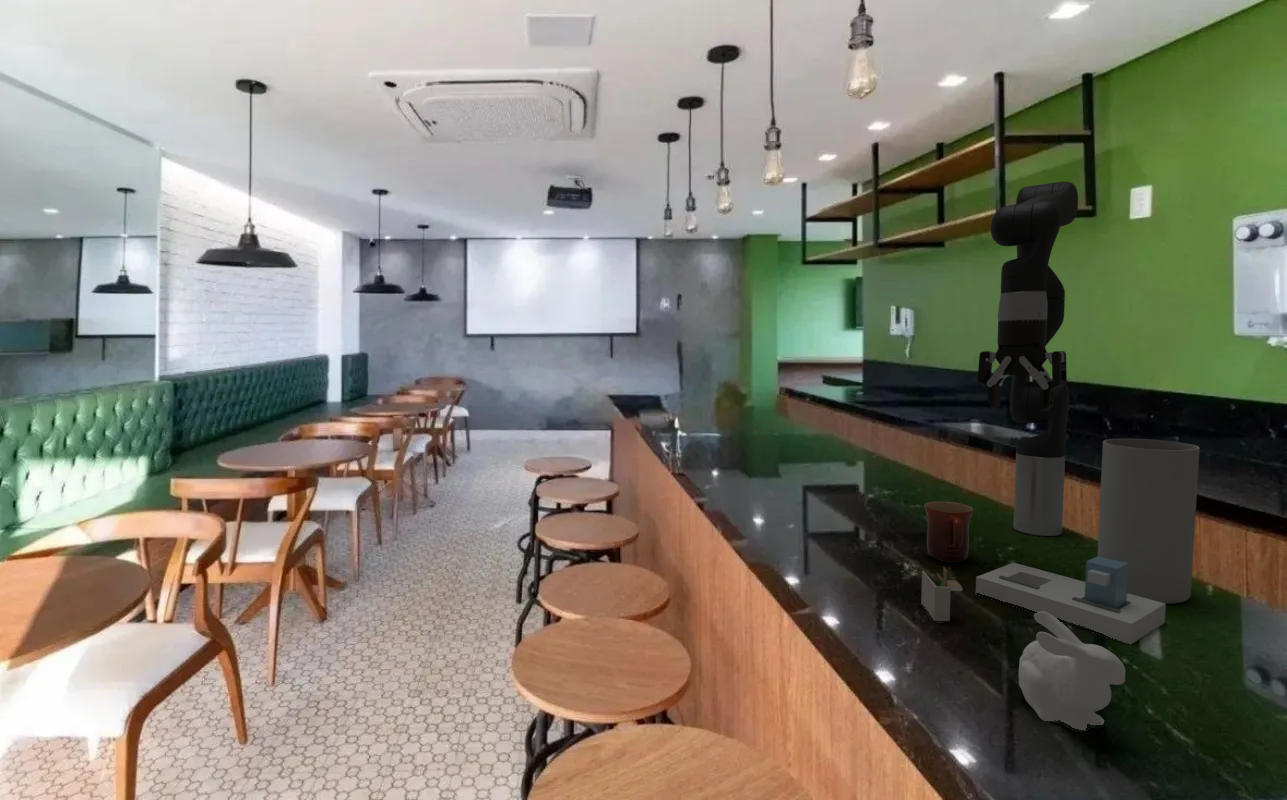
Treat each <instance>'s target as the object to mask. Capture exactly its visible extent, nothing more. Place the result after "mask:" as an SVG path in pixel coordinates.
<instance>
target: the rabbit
mask: <svg viewBox="0 0 1287 800" xmlns="http://www.w3.org/2000/svg"><path fill="white" fill-rule="evenodd" d="M1033 617H1034V621H1035V622H1037V623H1038V624H1040V625H1041V626H1043V627H1045V628H1046V629H1047V630H1049V631H1050V632H1051V633H1052V634H1053V635H1052V634H1051V633H1048V632H1045V631H1039V632H1037V633H1036V635H1035V640H1033V641H1031V642H1030V643H1028V645H1026V647H1025V648H1024V649H1023V651H1022V655H1021V656H1020V658H1019V661H1018V662H1019V667H1018V686H1019V688H1020V689H1021V691H1022V694H1023V696H1024V697H1023V698H1024V699H1025V701H1026V703H1028V705H1029V706H1030V707H1031V708H1032V709H1033V710H1034V711H1035V713H1036V714H1037V716H1038V717H1039V719H1041V720H1042V721H1044V722H1046V721H1055V720H1056V721H1058V720H1060V721H1061V722H1064V723H1066V724H1068V725H1070V726H1071V727H1072V728H1075V729H1079V730H1084V731H1085V730H1086V728H1087V724H1090V725H1094V726H1095V725H1103V724H1104V722H1105V720H1104V718H1103V717H1102V716H1101V715H1099V714H1097V713H1096V712H1098V711H1101V710H1103V709H1104V708H1106V707H1107V706H1108V705H1109V704H1110V703H1111V700H1112V689H1111V687H1110V685H1114V686H1115V685H1116V686H1119V685H1122V684H1123V683H1125V682H1126V667H1125V665H1124V664H1123V662H1122V661H1121V660H1120V659H1119V658H1118V657H1117V655H1116V654H1114V653H1113V652H1111V651H1110V650H1108V649H1106V648H1105V647H1103V646H1101V645H1098V644H1094V643H1093V644H1092V643H1084V642H1082V641H1081V640H1080V639H1079V638H1078V637H1077V636H1076V635H1075V633H1074V632H1073V631H1072V630H1071V629H1069V627H1067V626H1066V625H1065V623H1063V622H1060V621H1059V620H1058V619H1057V618H1056V617H1054V616H1053V615H1051V614H1049V613H1048V612H1045V611H1041V612H1037V613H1033Z"/></svg>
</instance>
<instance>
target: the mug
mask: <svg viewBox="0 0 1287 800" xmlns="http://www.w3.org/2000/svg"><path fill="white" fill-rule="evenodd" d="M923 508H924V510H925V514H926V518H927V531H926V549H927V554H928V555H929V556H930V557H931V558H932V557H933V558H936V559H940V560H945V561H962V562H964V561H965V560H966V559H968V554H969V550H970V547H969V546H970V545H969V543H970V541H969V540H970V534H969V533H970V531H969V530H970V529H969V528H970V527H969V526H970V522H971V518H972V515H973V513H974V508H973V507H972V506H970V505H967V504H964V503H961V502H953V501H929V502H926V503H924V505H923ZM933 558H932V559H933ZM963 560H964V561H963Z"/></svg>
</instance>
